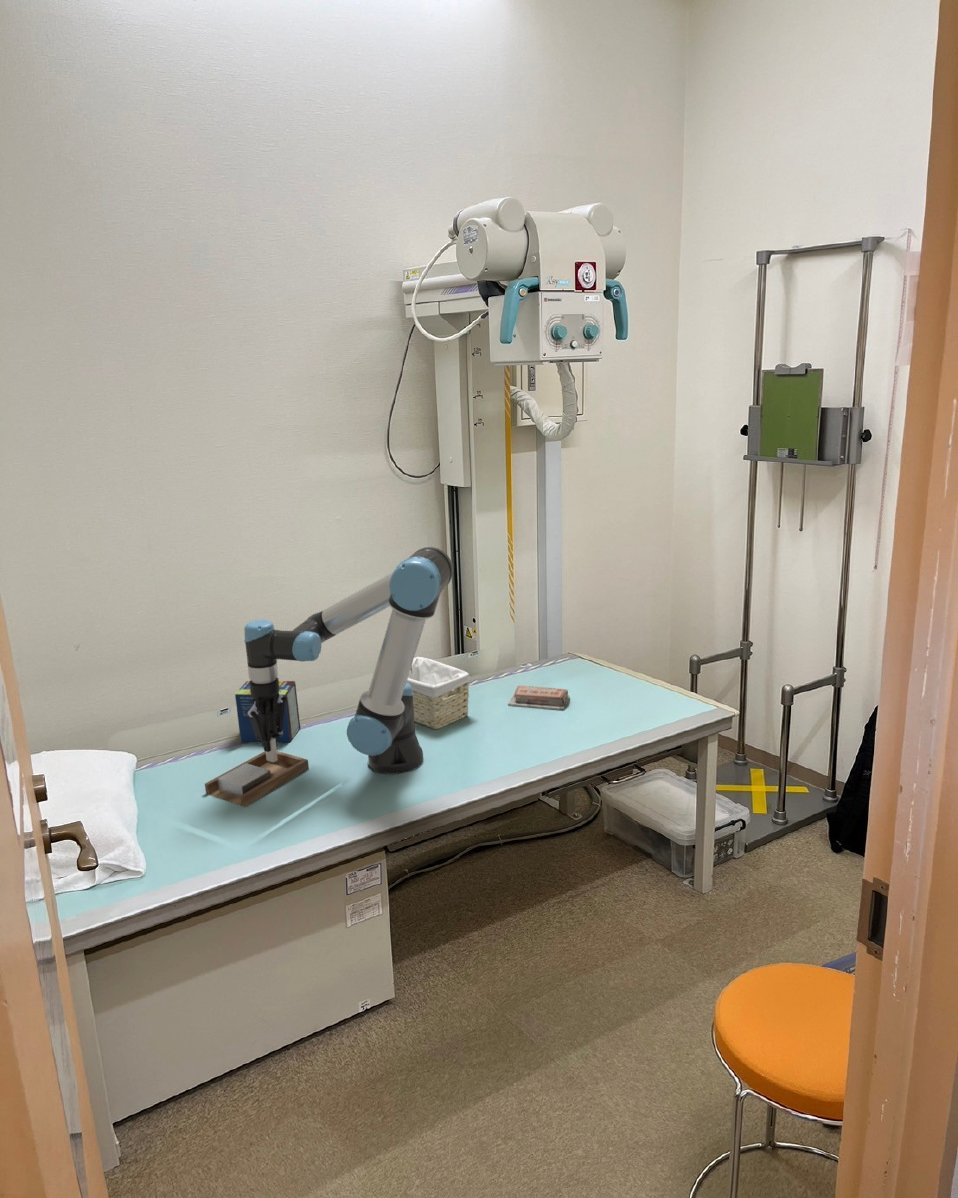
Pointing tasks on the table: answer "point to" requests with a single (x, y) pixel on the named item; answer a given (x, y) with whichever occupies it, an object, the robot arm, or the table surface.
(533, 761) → the table surface
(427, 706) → the storage basket
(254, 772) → the gray rectangular block
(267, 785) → the walnut box
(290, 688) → the protein box
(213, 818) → the table surface
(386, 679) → the robot arm
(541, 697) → the packaged product
